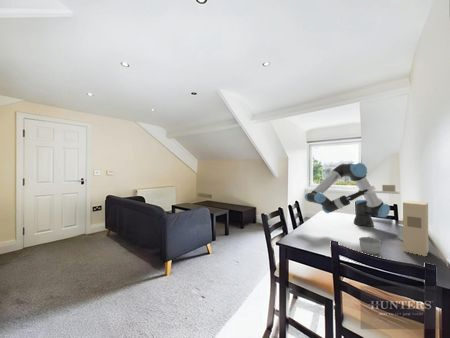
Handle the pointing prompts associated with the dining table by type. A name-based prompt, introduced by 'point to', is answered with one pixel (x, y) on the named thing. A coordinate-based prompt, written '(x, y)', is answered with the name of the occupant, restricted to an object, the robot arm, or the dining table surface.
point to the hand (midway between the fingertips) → (373, 187)
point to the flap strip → (385, 190)
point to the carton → (415, 227)
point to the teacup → (370, 245)
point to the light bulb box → (400, 231)
